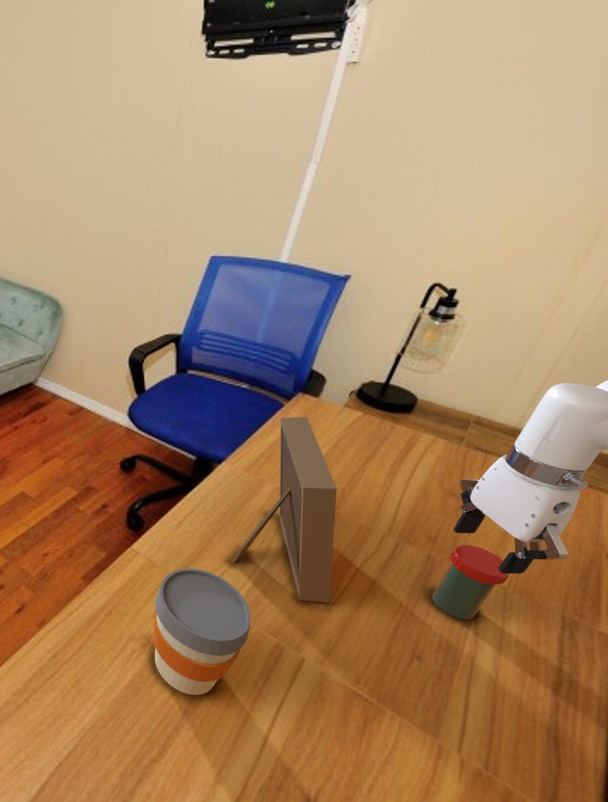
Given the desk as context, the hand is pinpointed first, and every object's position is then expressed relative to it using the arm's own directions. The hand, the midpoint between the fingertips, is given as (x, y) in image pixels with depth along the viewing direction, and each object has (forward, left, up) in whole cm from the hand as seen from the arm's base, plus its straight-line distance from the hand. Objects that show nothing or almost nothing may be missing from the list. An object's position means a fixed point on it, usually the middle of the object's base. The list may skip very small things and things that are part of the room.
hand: (485, 550), depth 82 cm
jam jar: (0, 0, -13) cm, 13 cm away
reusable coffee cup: (+38, +35, -13) cm, 53 cm away
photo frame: (+28, +2, -13) cm, 31 cm away
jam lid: (0, 0, -2) cm, 2 cm away
